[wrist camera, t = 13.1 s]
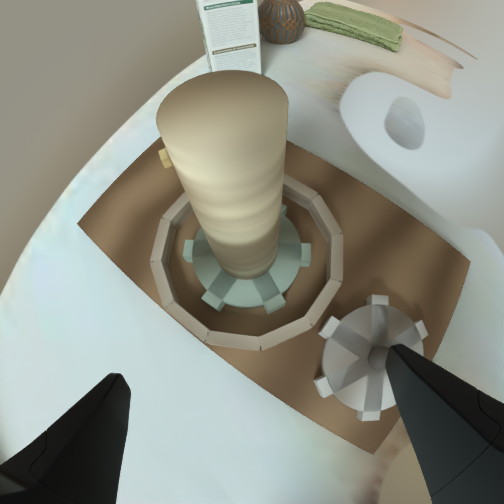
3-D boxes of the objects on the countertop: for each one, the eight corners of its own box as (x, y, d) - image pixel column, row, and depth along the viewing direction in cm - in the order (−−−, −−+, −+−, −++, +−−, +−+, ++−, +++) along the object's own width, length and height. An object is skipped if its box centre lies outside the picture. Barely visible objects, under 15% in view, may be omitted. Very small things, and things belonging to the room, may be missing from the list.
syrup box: (263, 80, 29) (259, -32, 15) (213, 89, 28) (193, -24, 15) (251, 59, 31) (245, -38, 17) (206, 67, 30) (188, -30, 17)
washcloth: (399, 58, 32) (403, 43, 29) (295, 27, 36) (296, 12, 33) (401, 35, 36) (404, 22, 33) (315, 9, 40) (316, -3, 37)
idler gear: (327, 282, 19) (413, 155, 7) (222, 337, 18) (133, 288, 6) (268, 188, 22) (267, 31, 10) (174, 232, 21) (91, 95, 9)
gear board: (464, 265, 20) (485, 252, 17) (368, 450, 15) (384, 464, 12) (203, 109, 27) (197, 86, 24) (82, 228, 22) (63, 212, 20)
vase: (253, 47, 32) (250, -5, 24) (260, 30, 34) (258, -16, 26) (302, 50, 31) (306, -2, 23) (304, 33, 34) (307, -13, 26)
